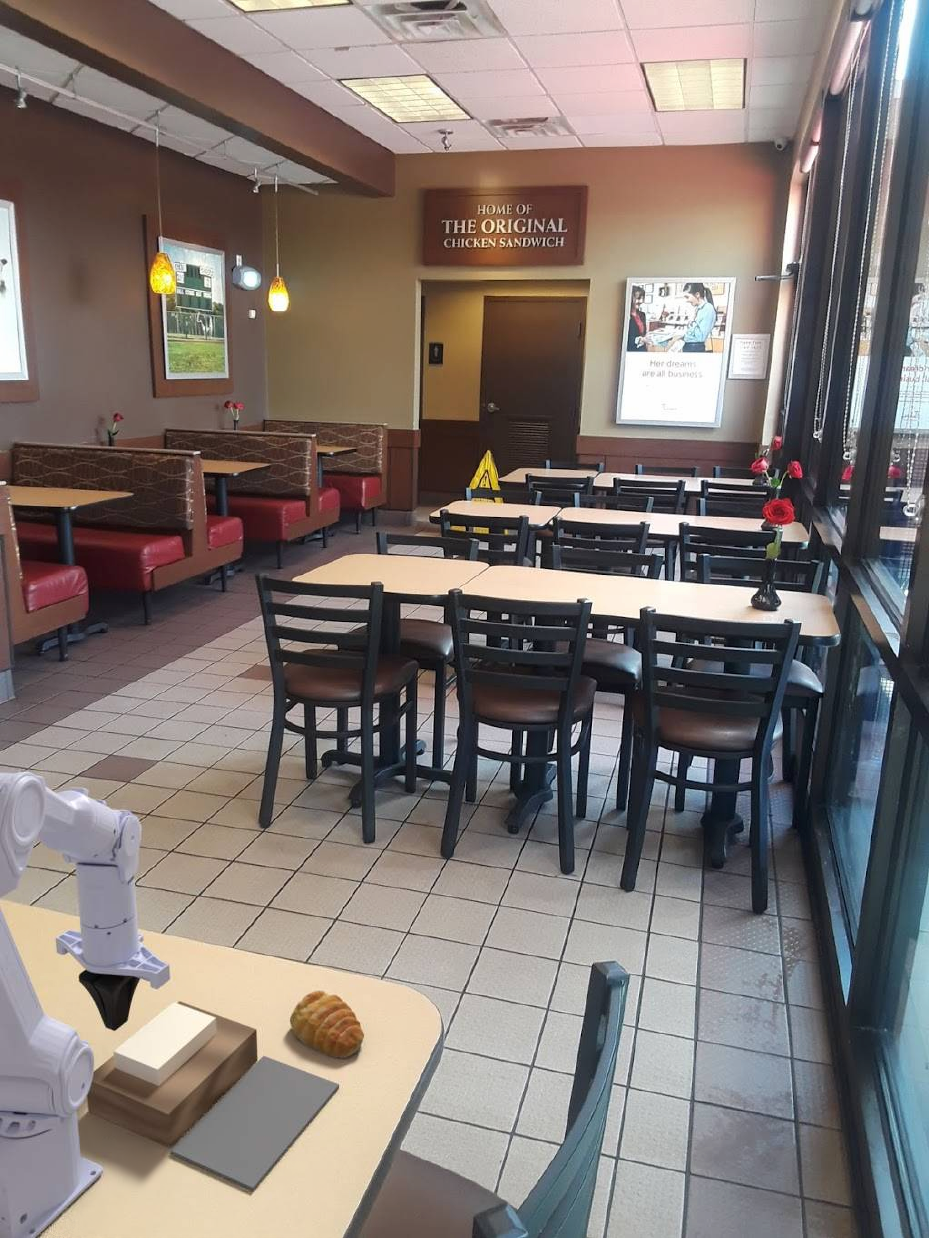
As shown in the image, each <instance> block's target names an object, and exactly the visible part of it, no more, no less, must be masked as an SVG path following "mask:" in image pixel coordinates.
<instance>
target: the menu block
mask: <svg viewBox="0 0 929 1238" xmlns="http://www.w3.org/2000/svg"><path fill="white" fill-rule="evenodd" d="M216 1034H217V1027H216V1018H215V1017H213V1016H210V1015H207V1014H205V1013H202V1012H199V1011H196V1010H194V1009H191V1008H188V1007H186V1006H183V1005H180V1004H178V1002H174V1001H173V1002H172V1003H171V1004H170V1005H168V1006H167V1007H166V1008H165V1009H164V1010H162V1011H161V1012H160V1013H158V1014H157V1015H156V1016H155V1017H154V1018H152V1019H151V1020H150V1021H149V1022H148V1023H146V1024H145V1025H144V1026H143V1027H141V1028H140V1029H139V1030H137V1032H135V1033H134V1034H133V1035H131V1036H130V1037H129V1038H128V1039H126V1041H124V1042H123V1043H122V1044H121V1045H119V1046H118V1047H117V1048H115V1050H114V1051H113V1055H114V1064H115V1068H117V1069H119V1070H121V1071H124V1072H126V1073H129V1074H131V1075H133V1076H136V1077H138V1078H140V1079H143V1080H145V1081H148V1082H150V1083H152V1084H155V1085H157V1086H160V1085H161V1084H162V1083H163V1082H164V1081H165V1080H166V1079H167V1078H169V1077H170V1076H171V1075H172V1074H173V1073H174V1072H175V1071H176V1070H177V1069H178V1068H179V1067H181V1066H182V1065H183V1064H184V1063H185V1062H186V1061H187V1060H188V1059H189V1058H190V1057H192V1056H193V1055H194V1054H195V1053H196V1052H197V1051H198V1050H199V1049H200V1048H201V1047H202V1046H204V1045H205V1044H206V1043H207V1042H208V1041H209V1040H210V1039H211V1038H212V1037H213V1036H214V1035H216Z"/></svg>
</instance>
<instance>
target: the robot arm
mask: <svg viewBox="0 0 929 1238" xmlns="http://www.w3.org/2000/svg"><path fill="white" fill-rule="evenodd" d="M46 785H47V784H46V779H45V777H44V776H41V775H36V774H35V773H33V772H30V771H18V772H16V773H14V772H12V773H11V772H0V898H2V897H4V896H6V895H8V894H9V893H11V892H13V891H15V890H17V889H18V888H19V885H20V882H21V880H22V878H23V874H24V873H25V871H26V869H27V866H28V863H29V860H30V857H31V854H32V852H33V849H34V846H35V844H36V841H37V840H38V841H39V842H40V843H41V845H43V846H44V847H46V848H47V849H49V850H52V851H55V852H59V853H61V854H62V858H63V860H64V862H65V863H66V864H69V863H74V864H75V865H74V867H75V875H76V876H75V878H76V889H77V899H78V900H77V901H78V911H79V913H78V914H79V923H80V931H77V930H73V929H67V930H66V931H64V932H63V933H61V934H59V935H58V936H56V938H55V946H56V947H55V949H56V953H57V954H59V955H63V956H65V955H67V954H68V953H69V954H70V955H71V956H72V957H73V958H74V959H75V960H76V961H77V962H78V963H79V964H80V966H81V967H82V968H83V969H84V970H83V971H81V972H80V973H79V975H78V982H79V983H80V984H81V985H82V986H83V987H84V989H85V990H86V991H87V992H88V993H89V995H90V997H91V998H92V1001H94V1003H95V1006H96V1007H97V1010H98V1012H99V1015H100V1017H101V1020H102V1023H103V1025H104V1027H105V1029H108V1030H111V1031H113V1032H116V1031H117V1030H118V1029H119V1028H121V1027H122V1026H124V1024H125V1023H127V1022H128V1020H129V1015H130V1011H131V1005H132V1003H133V997H134V995H135V992H136V989H137V987H138V984H139V983H140V981H141V980H144V981H147V982H149V984H150V986H149V987H151V988H152V989H155V990H158V989H160V988H161V987H163V986H164V985H165V984H167V982H169V981H170V980H171V973H170V972H171V970H170V963H169V962H165V961H163V960H162V959H160V958H159V957H158V956H157V955H156V954H154V953H153V952H152V951H151V950H150V949H149V948H148V947H146V946H145V945H144V944H143V943H142V942H144V941H145V939H144V934H143V933H141V932H139V926H138V925H139V924H138V911H137V896H136V884H135V883H136V882H135V881H136V880H135V874H136V873H137V872H138V871H139V870H138V869H139V864H140V862H139V851H140V845H141V840H142V830H143V828H142V827H143V826H142V824H141V822H140V819H139V817H138V816H137V815H134V814H133V813H132V811H131V810H128V809H116V808H115V809H112V808H111V807H109V806H108V805H107V801H105V800H104V799H98V798H97V799H96V798H95V799H94V798H91V797H89V794H90V790H89V789H87V788H85V787H77V786H75V787H74V786H73V787H72V786H70V787H69V788H68V790H63V791H59V792H55V791H54V790H52V789H50V788H49V787H47V786H46ZM94 1071H95V1055H94V1051H93V1049H92V1047H91V1045H90V1043H89V1042H88V1041H87V1040H86V1039H82V1038H80V1036H79V1034H78V1031H77V1030H76V1028H74V1027H73V1026H70V1025H68V1024H66V1023H64V1022H62V1021H60V1020H58V1019H55V1018H53V1017H51V1016H49V1015H48V1014H46V1013H45V1012H44V1008H42V1005H41V1002H40V999H39V997H38V995H37V993H36V990H35V987H34V985H33V983H32V981H31V979H30V976H29V973H28V971H27V968H26V966H25V964H24V961H23V959H22V956H21V954H20V951H19V949H18V947H17V943H16V942H15V939H14V936H13V935H12V932H11V930H10V927H9V925H8V922H7V920H6V918H5V915H4V913H3V911H2V907H1V906H0V1238H36V1237H38V1236H39V1234H40V1233H41V1232H43V1231H44V1230H45V1229H46V1228H47V1227H48V1226H49V1225H50V1224H52V1222H53V1221H54V1220H55V1219H56V1218H57V1217H58V1216H60V1214H62V1212H64V1211H65V1210H66V1209H67V1207H69V1206H70V1205H71V1204H72V1203H73V1202H74V1201H75V1200H76V1199H78V1197H79V1196H81V1194H82V1193H83V1192H85V1191H86V1190H87V1189H88V1188H89V1187H90V1186H91V1185H92V1183H94V1182H95V1181H96V1180H97V1179H98V1178H99V1177H100V1176H101V1175H102V1174H103V1173H104V1167H103V1166H102V1165H100V1164H98V1163H97V1162H94V1161H92V1160H90V1159H89V1158H86V1157H84V1156H82V1155H81V1147H80V1134H79V1124H78V1123H79V1121H78V1114H77V1112H78V1110H79V1109H80V1108H81V1106H82V1105H83V1104H84V1102H85V1100H86V1099H87V1094H88V1092H89V1089H90V1086H91V1083H92V1079H93V1073H94Z"/></svg>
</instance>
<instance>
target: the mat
mask: <svg viewBox="0 0 929 1238" xmlns="http://www.w3.org/2000/svg"><path fill="white" fill-rule="evenodd" d="M339 1088H340V1084H339V1083H337V1082H334V1081H331V1080H329V1079H326V1078H323V1077H320V1076H318V1075H315V1074H312V1073H310V1072H307V1071H305V1070H302V1069H301V1068H297V1067H295V1066H292V1065H289V1064H288V1063H287V1064H286V1063H284V1062H281V1061H280V1060H279V1061H278V1060H276V1059H273V1058H271V1057H268V1056H265V1055H263V1056H262V1057H261V1058H260V1059H259V1060H257V1061H256V1062H255V1063H254V1064H253V1065H252V1066H251V1067H250V1068H249V1069H248V1070H247V1071H246V1072H245V1073H244V1074H243V1075H242V1076H241V1077H240V1078H239V1079H238V1080H237V1081H236V1082H235V1083H234V1084H233V1085H232V1086H231V1087H230V1088H229V1089H228V1091H227V1092H226V1093H225V1094H224V1096H222V1097H221V1098H220V1099H219V1100H218V1101H217V1102H216V1103H215V1104H214V1105H213V1106H212V1107H211V1108H210V1109H209V1110H208V1111H207V1112H206V1113H205V1114H204V1115H203V1116H202V1117H201V1118H200V1119H199V1120H198V1121H197V1122H196V1123H195V1124H194V1125H193V1126H192V1127H191V1128H190V1129H189V1130H188V1131H187V1132H186V1133H185V1134H184V1135H183V1136H182V1137H181V1138H180V1139H179V1140H178V1141H177V1142H176V1143H175V1144H174V1145H173V1146H172V1147H171V1148H172V1149H171V1148H170V1154H171V1155H173V1156H174V1157H177V1158H179V1159H182V1160H184V1161H186V1162H187V1163H191V1164H193V1165H194V1166H197V1167H199V1168H202V1169H203V1170H206V1171H208V1172H209V1173H212V1174H214V1175H217V1176H219V1177H221V1178H224V1179H226V1180H228V1181H230V1182H233V1183H234V1184H236V1185H238V1186H241V1187H243V1188H245V1189H247V1190H250V1191H252V1192H254V1191H255V1189H256V1188H257V1187H258V1186H260V1183H262V1181H263V1180H264V1179H266V1177H267V1176H268V1174H269V1173H270V1171H271V1170H272V1169H273V1168H274V1167H275V1165H276V1164H277V1163H278V1162H279V1161H280V1159H281V1158H282V1157H283V1156H284V1155H285V1153H286V1152H288V1150H289V1148H291V1146H292V1145H293V1144H294V1143H295V1142H296V1140H297V1139H298V1138H299V1137H300V1135H301V1134H302V1133H303V1132H304V1131H305V1129H306V1128H307V1127H308V1126H309V1125H310V1123H311V1122H312V1121H313V1120H314V1118H315V1117H316V1116H317V1115H318V1113H319V1112H320V1111H321V1110H322V1109H323V1108H324V1107H325V1105H326V1104H327V1103H328V1102H329V1101H330V1099H332V1097H333V1096H334V1095H335V1093H336V1092H337V1091H338V1090H339Z"/></svg>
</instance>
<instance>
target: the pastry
mask: <svg viewBox="0 0 929 1238" xmlns="http://www.w3.org/2000/svg"><path fill="white" fill-rule="evenodd" d="M289 1024H290V1026H291V1029H292V1031H293V1033H294V1034H295V1035H294V1036H296V1038H298V1039H299V1040H300V1041H301V1043H302V1044H304V1045H306V1046H307V1047H309V1048H312V1049H313V1050H314V1051H318V1052H320V1053H322V1054H324V1055H327V1056H329V1057H332V1058H341V1059H345V1058H347V1057H349V1056H351V1055H353V1054H354V1053H356V1052H358V1051H359V1050H360V1048H361V1045H362V1043H363V1041H364V1039H365V1033H364V1031H363V1029H362V1026H361V1022H360V1021H359V1020H358V1018H357V1016H356V1014H355V1012H354V1011H353V1010H352V1008H351V1007H350V1006H349V1005H348V1004H347V1003H346V1002H345V1001H343V1000H342V998H341V997H340V996H338V995H337V994H331V995H329V994H328V993H326V992H325V991H324V990H314V991H313V992H312V991H311V992H310V993H307V994H306V995H304V997H303V998H302V1000H300V1001H299V1002H298V1003H297V1004H296V1005H295V1007H294V1009H293V1011H292V1013H291V1016H290V1019H289Z"/></svg>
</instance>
